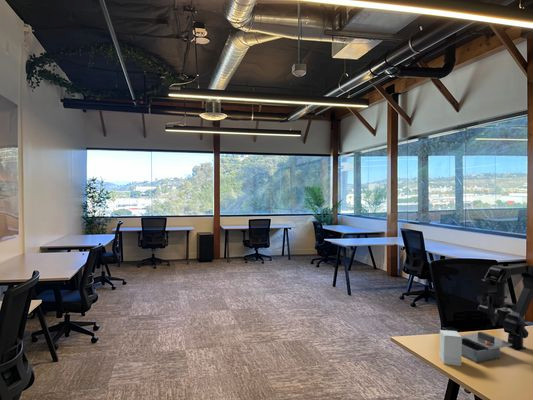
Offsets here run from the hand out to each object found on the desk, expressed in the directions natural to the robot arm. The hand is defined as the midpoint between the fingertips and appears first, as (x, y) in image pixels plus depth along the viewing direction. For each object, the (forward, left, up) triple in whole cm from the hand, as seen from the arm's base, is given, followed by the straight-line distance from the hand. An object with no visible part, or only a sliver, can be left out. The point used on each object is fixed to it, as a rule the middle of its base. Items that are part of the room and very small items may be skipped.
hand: (496, 325), depth 174 cm
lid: (+7, 0, -7) cm, 10 cm away
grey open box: (+14, 0, -12) cm, 18 cm away
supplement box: (+31, +2, -12) cm, 33 cm away
